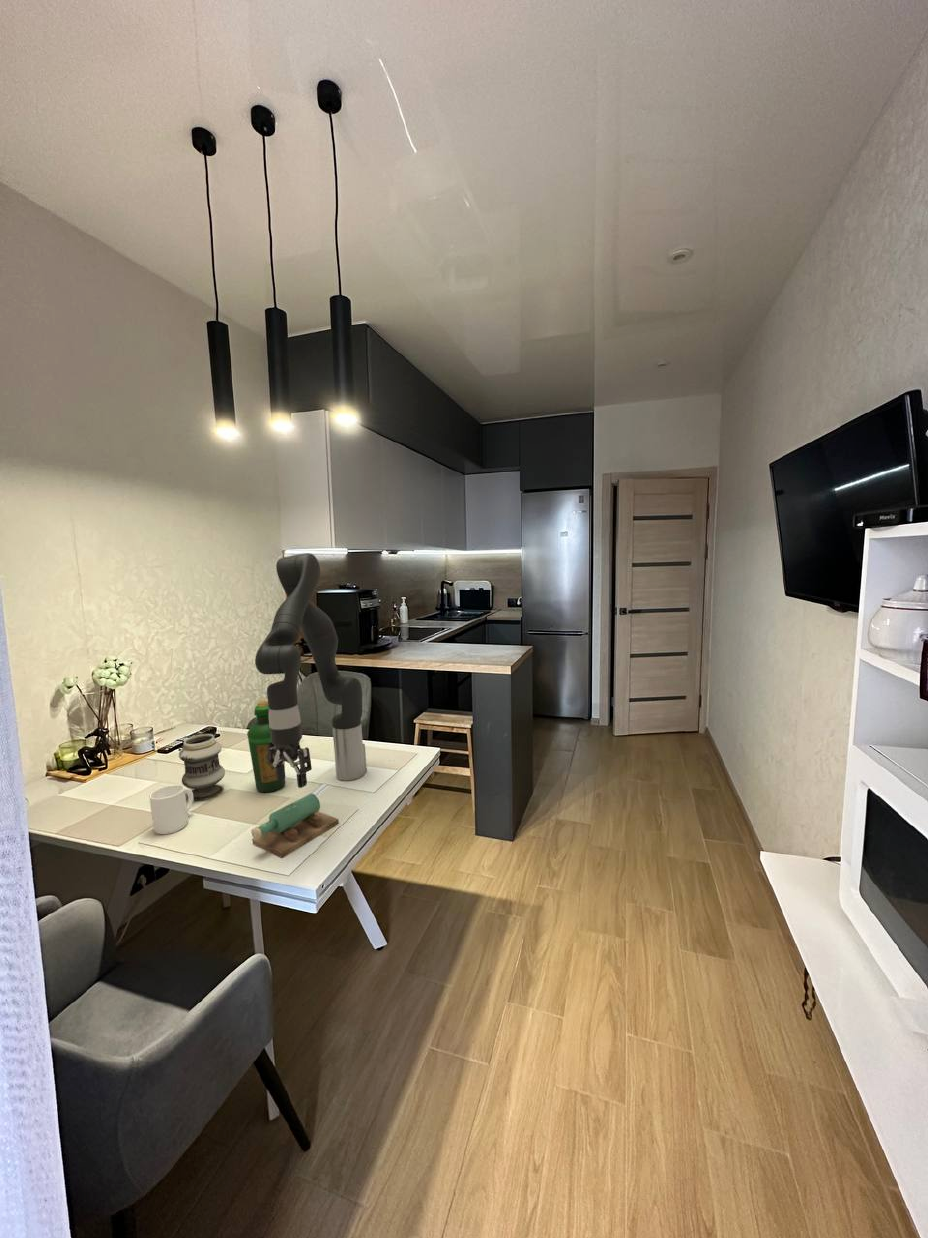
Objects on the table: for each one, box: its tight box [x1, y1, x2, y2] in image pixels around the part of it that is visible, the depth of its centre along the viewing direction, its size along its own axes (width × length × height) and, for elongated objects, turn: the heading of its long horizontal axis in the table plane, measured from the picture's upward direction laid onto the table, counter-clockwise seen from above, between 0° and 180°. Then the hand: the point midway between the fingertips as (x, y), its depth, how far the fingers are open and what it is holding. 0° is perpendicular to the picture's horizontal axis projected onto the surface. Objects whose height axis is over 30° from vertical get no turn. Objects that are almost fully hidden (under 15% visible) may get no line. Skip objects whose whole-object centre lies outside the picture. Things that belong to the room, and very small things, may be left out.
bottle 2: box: [250, 793, 321, 840], centre depth 128 cm, size 18×5×5 cm, turn 146°
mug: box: [148, 784, 194, 835], centre depth 138 cm, size 12×8×10 cm
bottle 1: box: [246, 700, 286, 793], centre depth 157 cm, size 11×11×28 cm
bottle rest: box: [251, 810, 340, 859], centre depth 131 cm, size 18×12×4 cm, turn 146°
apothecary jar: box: [178, 733, 226, 802], centre depth 155 cm, size 12×12×18 cm
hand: (291, 783), depth 129 cm, fingers open, 8 cm apart
